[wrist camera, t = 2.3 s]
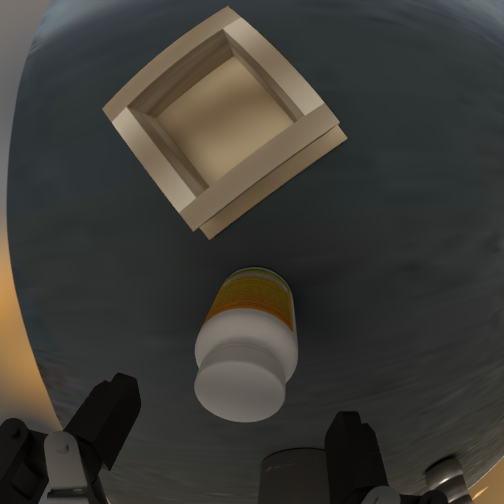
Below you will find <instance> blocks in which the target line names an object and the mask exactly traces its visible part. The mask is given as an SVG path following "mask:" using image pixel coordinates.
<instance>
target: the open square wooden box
mask: <svg viewBox="0 0 504 504" xmlns="http://www.w3.org/2000/svg"><path fill="white" fill-rule="evenodd" d="M103 111H104V112H105V114H106V115H107V117H108V118H109V119H110V121H111V122H112V124H113V125H114V126H115V128H116V129H117V131H118V132H119V133H120V135H121V136H122V138H123V139H124V140H125V142H126V143H127V145H128V146H129V147H130V149H131V150H132V151H133V153H134V154H135V155H136V157H137V158H138V160H139V161H140V162H141V164H142V165H143V166H144V168H145V169H146V170H147V172H148V173H149V174H150V176H151V177H152V178H153V180H154V181H155V182H156V184H157V185H158V186H159V188H160V189H161V190H162V192H163V193H164V194H165V196H166V197H167V198H168V199H169V201H170V202H171V203H172V205H173V206H174V207H175V209H176V210H177V211H178V212H179V214H180V215H181V216H182V218H183V219H184V220H185V221H186V223H187V224H188V225H189V227H190V228H191V229H192V230H193V231H195V230H196V229H197V228H200V229H201V230H202V231H203V233H204V234H205V235H206V236H207V238H208V239H209V240H210V239H211V238H213V237H214V236H215V235H216V234H218V233H219V232H220V231H222V230H223V229H224V228H226V227H227V226H228V225H229V224H231V223H232V222H233V221H235V220H236V219H237V218H239V217H240V216H241V215H243V214H244V213H245V212H247V211H248V210H249V209H250V208H252V207H253V206H254V205H256V204H257V203H258V202H260V201H261V200H262V199H264V198H265V197H267V196H268V195H269V194H271V193H272V192H273V191H275V190H276V189H277V188H279V187H280V186H281V185H283V184H284V183H286V182H287V181H288V180H290V179H291V178H292V177H294V176H295V175H297V174H298V173H299V172H301V171H302V170H304V169H305V168H306V167H308V166H309V165H311V164H312V163H313V162H315V161H316V160H318V159H319V158H320V157H322V156H323V155H325V154H326V153H328V152H329V151H330V150H332V149H333V148H335V147H336V146H338V145H339V144H340V143H342V142H343V141H345V140H346V139H348V138H347V137H346V136H345V134H344V133H343V132H342V130H341V129H340V128H339V126H338V125H337V124H339V123H340V122H339V121H338V119H337V118H336V117H335V115H334V114H333V113H332V112H331V110H330V109H329V108H328V107H327V105H326V104H325V103H324V102H323V100H322V99H321V98H320V97H319V96H318V94H317V93H316V92H315V91H314V90H313V89H312V87H311V86H310V85H309V84H308V83H307V82H306V81H305V79H304V78H303V77H302V76H301V75H300V74H299V73H298V72H297V71H296V70H295V68H294V67H293V66H292V65H291V64H290V63H289V62H288V61H287V60H286V59H285V58H284V57H283V56H282V55H281V54H280V53H279V52H278V51H277V50H276V49H275V48H274V47H273V46H272V45H271V44H270V43H269V42H268V41H267V40H266V39H265V38H264V37H263V36H262V35H260V34H259V33H258V32H257V31H256V30H255V29H254V28H253V27H252V26H251V25H249V24H248V23H247V22H246V21H245V20H244V19H242V18H241V17H240V16H239V15H238V14H237V13H235V12H234V11H233V10H232V9H230V8H229V7H228V6H227V7H226V8H224V9H222V10H221V11H219V12H217V13H216V14H214V15H213V16H211V17H210V18H208V19H206V20H205V21H203V22H202V23H200V24H199V25H197V26H196V27H195V28H193V29H192V30H190V31H189V32H188V33H186V34H185V35H183V36H182V37H181V38H179V39H178V40H177V41H175V42H174V43H173V44H172V45H170V46H169V47H168V48H166V49H165V50H164V51H163V52H162V53H160V54H159V55H158V56H157V57H156V58H154V59H153V60H152V61H151V62H150V63H149V64H147V65H146V66H145V67H144V68H143V69H142V70H141V71H140V72H138V73H137V74H136V75H135V76H134V77H133V78H132V79H131V80H130V81H129V82H128V83H127V84H126V85H125V86H124V87H123V88H122V89H121V90H120V91H119V92H118V93H117V94H116V95H115V96H114V97H113V98H112V99H111V100H110V101H109V102H108V103H107V104H106V106H105V107H104V108H103Z"/></svg>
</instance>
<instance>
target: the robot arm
mask: <svg viewBox="0 0 504 504" xmlns="http://www.w3.org/2000/svg"><path fill="white" fill-rule="evenodd" d="M140 408H141V399H140V394H139V389H138V383H137V379H136V378H134V377H131V376H128V375H125V374H122V373H117V374H116V375H115V376H114V378H113V379H112V381H111V382H108V381H106V380H105V381H103V382H101V383H100V384H98V385H97V386H95V387H94V389H93V390H92V391H91V393H90V394H89V397H87V398H86V400H85V401H84V404H82V405H81V407H80V408H79V409H78V411H77V412H76V414H75V415H74V416H73V418H72V419H71V421H70V422H69V424H68V425H67V426H66V428H65V429H64V430H63V431H55V432H52V433H50V434H44V433H40V432H36V431H33V430H29V429H28V428H27V426H26V425H25V424H24V422H23V421H21V420H19V419H17V418H10V419H7V420H5V421H4V422H3V423H2V425H1V426H0V504H38V503H39V501H40V498H41V496H42V494H43V492H44V490H45V488H46V486H47V484H48V482H50V487H51V491H50V492H49V493H48V494H47V502H48V504H108V502H107V499H106V496H105V493H104V490H103V487H102V484H101V481H100V478H99V475H98V473H99V471H100V469H101V468H103V469H106V470H108V471H110V470H111V468H112V466H113V464H114V462H115V460H116V458H117V456H118V454H119V452H120V450H121V448H122V446H123V444H124V442H125V440H126V438H127V436H128V434H129V432H130V430H131V428H132V426H133V424H134V422H135V420H136V418H137V417H138V415H139V412H140ZM377 443H378V442H377V438H376V435H375V432H374V431H373V430H372V428H371V427H370V426H369V424H368V423H364V424H362V423H361V420H360V416H359V413H358V412H357V411H339V412H338V413H337V415H336V417H335V418H334V420H333V422H332V424H331V426H330V427H329V429H328V431H327V433H326V437H325V451H322V450H316V449H294V450H288V451H283V452H279V453H276V454H274V455H271V456H269V457H268V458H266V459H265V460H264V461H263V463H262V465H261V475H260V485H259V494H258V503H257V504H449V502H448V499H447V496H446V495H445V494H444V493H443V492H442V491H439V490H430V491H428V492H426V493H425V494H423V495H422V496H413V495H402V494H399V493H398V492H397V491H396V490H395V489H394V488H392V487H390V486H389V484H388V482H387V478H386V473H385V469H384V465H383V461H382V457H381V453H380V450H379V446H378V445H377Z"/></svg>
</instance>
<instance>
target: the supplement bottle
mask: <svg viewBox="0 0 504 504" xmlns="http://www.w3.org/2000/svg"><path fill="white" fill-rule="evenodd" d="M195 358H196V362H197V365H198V367H199V370H198V373H197V376H196V379H195V384H194V388H195V394H196V396H197V398H198V400H199V401H200V403H201V404H202V405H203V406H204V407H205V408H206V409H207V410H209V411H210V412H212V413H213V414H215V415H217V416H219V417H221V418H224V419H227V420H231V421H236V422H255V421H260V420H263V419H266V418H268V417H270V416H272V415H273V414H275V413H276V412H277V411H278V410H279V409H280V408H281V406H282V405H283V402H284V400H285V385H286V382H287V381H288V380H289V379H290V378H291V376H292V375H293V373H294V371H295V369H296V366H297V361H298V342H297V331H296V321H295V311H294V302H293V296H292V293H291V290H290V288H289V286H288V284H287V283H286V282H285V280H284V279H283V278H282V277H280V276H279V275H278V274H276V273H275V272H273V271H271V270H268V269H265V268H261V267H249V268H244V269H241V270H238V271H236V272H235V273H233V274H232V275H230V276H229V277H228V278H227V279H226V280H225V281H224V283H223V284H222V286H221V288H220V290H219V292H218V294H217V296H216V298H215V301H214V303H213V305H212V307H211V309H210V311H209V313H208V315H207V317H206V319H205V321H204V323H203V326H202V328H201V330H200V332H199V335H198V337H197V340H196V344H195Z"/></svg>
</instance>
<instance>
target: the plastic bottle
mask: <svg viewBox="0 0 504 504" xmlns="http://www.w3.org/2000/svg"><path fill="white" fill-rule="evenodd" d="M426 485H427V486H428V488H429V490H439V491H442V492H443V493H444V494H445V495H446V496H447V499H448V502H449V504H474V503H473V501H472V499H471V496H470V495H469V492H468V490H467V487H466V484H465V480H464V477H463V470H462V466H461V464H460V462H459V461H458V460H457V459H455V458H449V459H446V460H444V461H442V462H440V463H438V464H437V465H435V466H434V467H432V468H431V469H430V470H429V471H428V472H427V474H426Z"/></svg>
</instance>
